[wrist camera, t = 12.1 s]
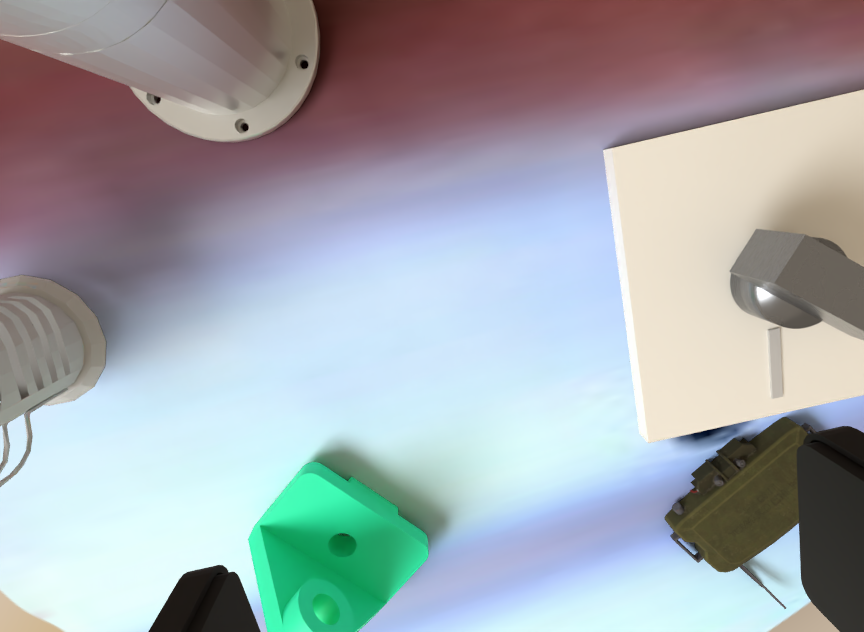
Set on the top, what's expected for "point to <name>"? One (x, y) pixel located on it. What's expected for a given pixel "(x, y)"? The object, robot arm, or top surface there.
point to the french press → (44, 351)
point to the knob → (799, 282)
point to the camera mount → (331, 554)
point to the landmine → (742, 499)
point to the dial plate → (718, 251)
